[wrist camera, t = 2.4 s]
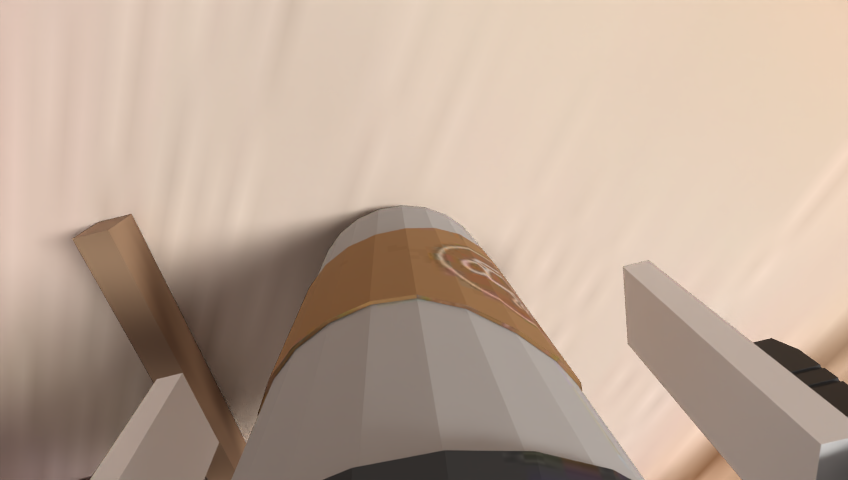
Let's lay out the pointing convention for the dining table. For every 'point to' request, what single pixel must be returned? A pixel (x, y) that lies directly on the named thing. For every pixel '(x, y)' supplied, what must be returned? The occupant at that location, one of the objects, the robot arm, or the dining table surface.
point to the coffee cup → (422, 371)
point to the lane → (157, 326)
